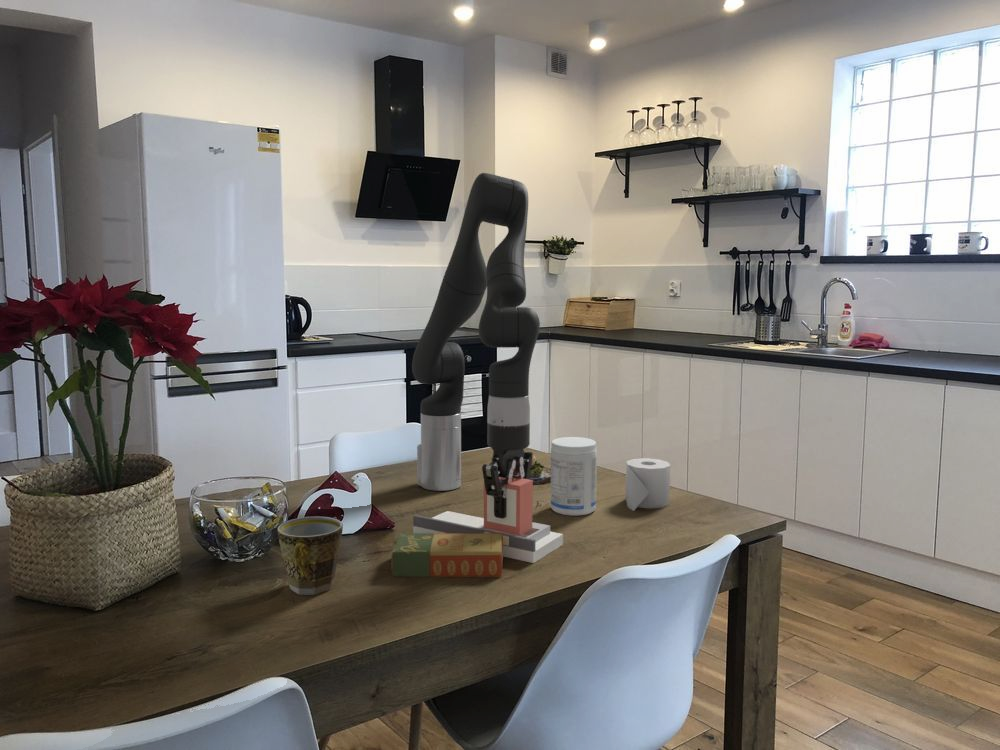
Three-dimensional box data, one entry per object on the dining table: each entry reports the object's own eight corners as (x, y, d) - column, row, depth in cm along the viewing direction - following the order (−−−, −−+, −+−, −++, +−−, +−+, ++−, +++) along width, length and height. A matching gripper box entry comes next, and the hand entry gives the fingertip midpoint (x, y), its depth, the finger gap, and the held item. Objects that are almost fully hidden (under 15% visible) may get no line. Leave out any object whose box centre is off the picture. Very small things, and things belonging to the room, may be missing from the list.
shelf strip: (413, 536, 152) (412, 515, 151) (447, 520, 161) (447, 501, 161) (533, 563, 138) (533, 541, 138) (563, 544, 148) (563, 523, 147)
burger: (558, 485, 188) (558, 454, 187) (507, 485, 188) (507, 453, 188) (555, 472, 200) (555, 443, 199) (507, 472, 200) (507, 442, 199)
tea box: (519, 535, 141) (519, 485, 140) (483, 528, 145) (483, 479, 144) (532, 528, 145) (533, 480, 144) (497, 521, 149) (497, 474, 148)
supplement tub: (573, 500, 175) (574, 434, 173) (605, 511, 168) (607, 442, 166) (540, 509, 169) (541, 440, 167) (572, 520, 162) (573, 448, 160)
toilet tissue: (629, 513, 167) (630, 473, 165) (624, 495, 180) (625, 457, 179) (673, 514, 166) (675, 474, 165) (665, 496, 179) (666, 458, 178)
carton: (502, 579, 132) (502, 550, 132) (390, 578, 133) (390, 550, 132) (502, 558, 142) (503, 531, 141) (398, 557, 142) (398, 530, 141)
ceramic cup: (290, 574, 133) (288, 515, 132) (350, 575, 133) (348, 516, 131) (264, 607, 120) (262, 542, 119) (331, 608, 120) (329, 543, 119)
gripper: (505, 429, 134) (505, 528, 137) (546, 416, 146) (545, 507, 149) (468, 424, 138) (468, 520, 141) (511, 411, 150) (510, 500, 153)
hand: (508, 513), depth 145 cm, fingers closed on tea box, 4 cm apart
